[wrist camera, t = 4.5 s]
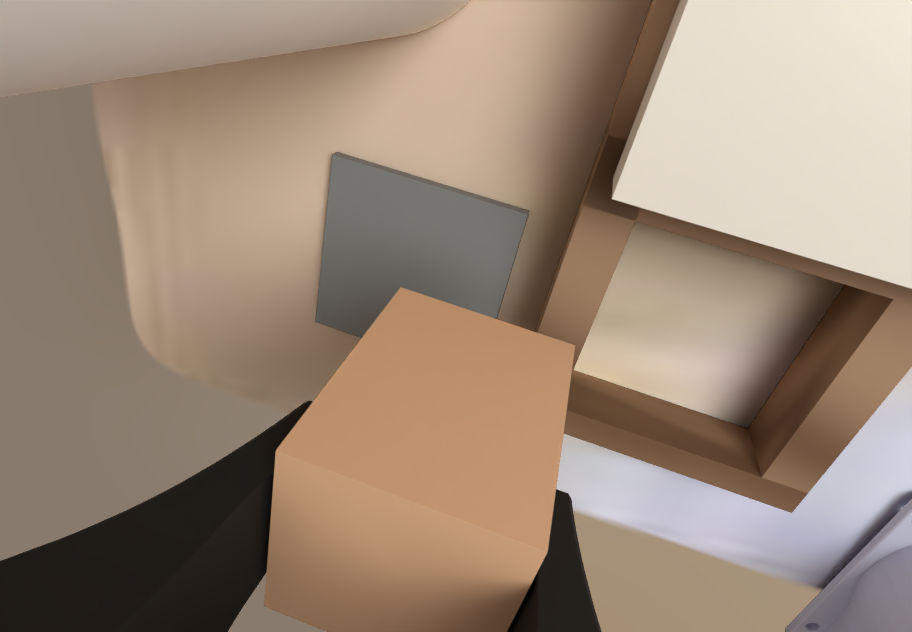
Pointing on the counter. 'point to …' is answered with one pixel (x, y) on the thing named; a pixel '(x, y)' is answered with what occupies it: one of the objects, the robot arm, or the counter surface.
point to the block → (421, 476)
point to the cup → (184, 34)
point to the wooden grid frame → (800, 390)
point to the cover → (783, 129)
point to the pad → (410, 244)
